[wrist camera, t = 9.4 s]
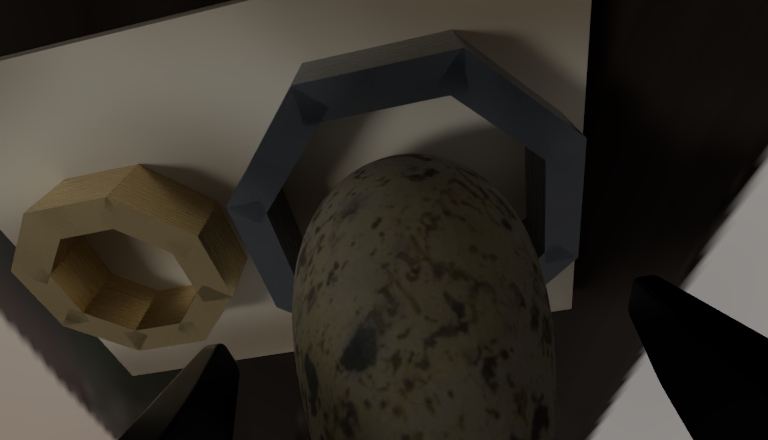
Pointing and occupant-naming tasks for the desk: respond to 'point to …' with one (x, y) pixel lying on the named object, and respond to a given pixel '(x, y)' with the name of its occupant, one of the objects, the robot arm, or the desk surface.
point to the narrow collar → (144, 222)
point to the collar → (396, 88)
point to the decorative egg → (422, 310)
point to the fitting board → (263, 122)
